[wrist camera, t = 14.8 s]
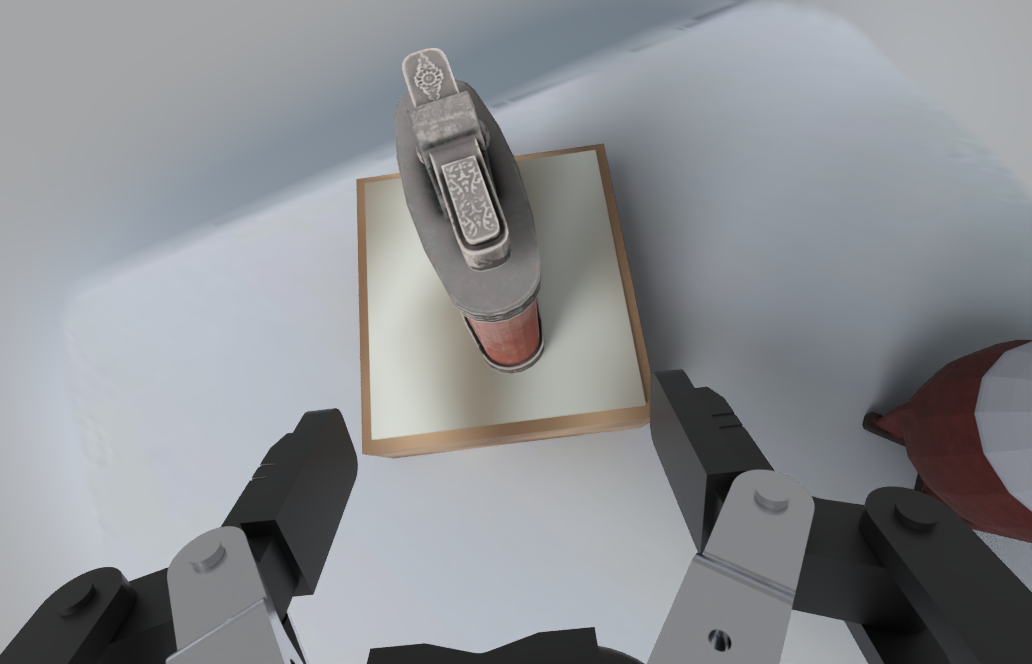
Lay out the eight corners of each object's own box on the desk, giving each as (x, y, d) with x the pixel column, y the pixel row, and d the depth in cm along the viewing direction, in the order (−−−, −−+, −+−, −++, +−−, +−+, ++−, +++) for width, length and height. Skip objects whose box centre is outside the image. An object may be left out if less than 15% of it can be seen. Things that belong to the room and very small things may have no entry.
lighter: (431, 219, 22) (341, 23, 13) (502, 197, 22) (465, -16, 13) (482, 385, 20) (417, 297, 10) (561, 358, 20) (570, 247, 10)
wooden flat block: (595, 191, 27) (604, 139, 23) (641, 426, 23) (661, 415, 19) (383, 221, 27) (354, 175, 23) (393, 458, 23) (359, 453, 19)
